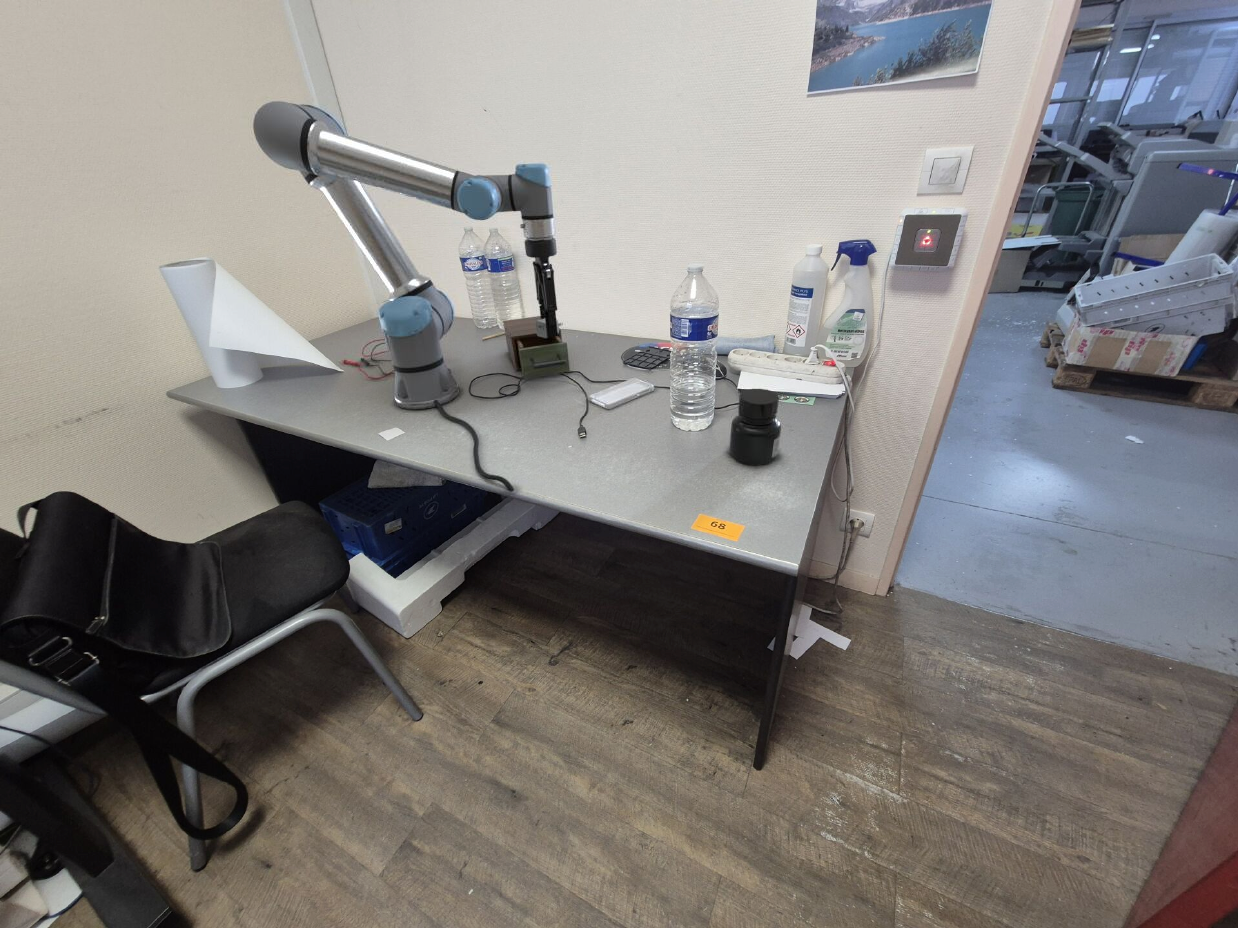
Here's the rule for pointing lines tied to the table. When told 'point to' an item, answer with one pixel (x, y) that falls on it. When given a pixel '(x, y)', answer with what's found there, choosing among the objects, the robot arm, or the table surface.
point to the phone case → (621, 393)
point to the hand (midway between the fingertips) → (549, 333)
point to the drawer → (542, 356)
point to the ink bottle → (756, 427)
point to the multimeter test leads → (371, 359)
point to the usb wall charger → (544, 328)
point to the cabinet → (520, 334)
